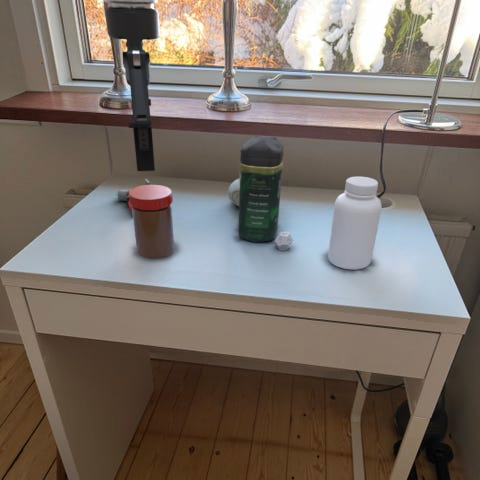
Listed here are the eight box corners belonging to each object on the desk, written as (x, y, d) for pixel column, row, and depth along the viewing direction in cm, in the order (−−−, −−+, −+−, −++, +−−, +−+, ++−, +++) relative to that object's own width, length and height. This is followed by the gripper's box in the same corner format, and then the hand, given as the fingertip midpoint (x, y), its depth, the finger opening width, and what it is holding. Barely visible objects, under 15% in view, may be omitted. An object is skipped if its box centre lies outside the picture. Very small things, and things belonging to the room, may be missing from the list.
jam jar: (137, 260, 85) (130, 204, 79) (136, 243, 91) (130, 190, 84) (175, 257, 86) (172, 202, 80) (172, 240, 92) (169, 188, 86)
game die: (290, 253, 88) (291, 239, 87) (271, 250, 89) (272, 236, 87) (294, 245, 91) (295, 231, 89) (276, 242, 92) (277, 228, 90)
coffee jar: (274, 245, 91) (281, 148, 80) (234, 241, 92) (236, 144, 81) (280, 225, 99) (287, 134, 88) (243, 222, 100) (245, 131, 89)
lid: (170, 193, 87) (170, 183, 85) (173, 209, 81) (173, 198, 79) (129, 195, 85) (128, 185, 84) (129, 211, 79) (128, 200, 78)
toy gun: (117, 197, 110) (115, 177, 107) (167, 200, 109) (166, 179, 106) (104, 213, 102) (100, 192, 99) (158, 216, 101) (156, 195, 98)
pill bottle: (343, 246, 91) (356, 170, 82) (378, 261, 87) (396, 182, 78) (318, 259, 87) (329, 180, 78) (354, 275, 82) (370, 193, 73)
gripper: (163, 10, 57) (172, 181, 69) (153, 3, 77) (162, 137, 89) (100, 9, 56) (121, 183, 68) (107, 2, 75) (122, 138, 88)
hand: (144, 157), depth 79 cm, fingers open, 13 cm apart
